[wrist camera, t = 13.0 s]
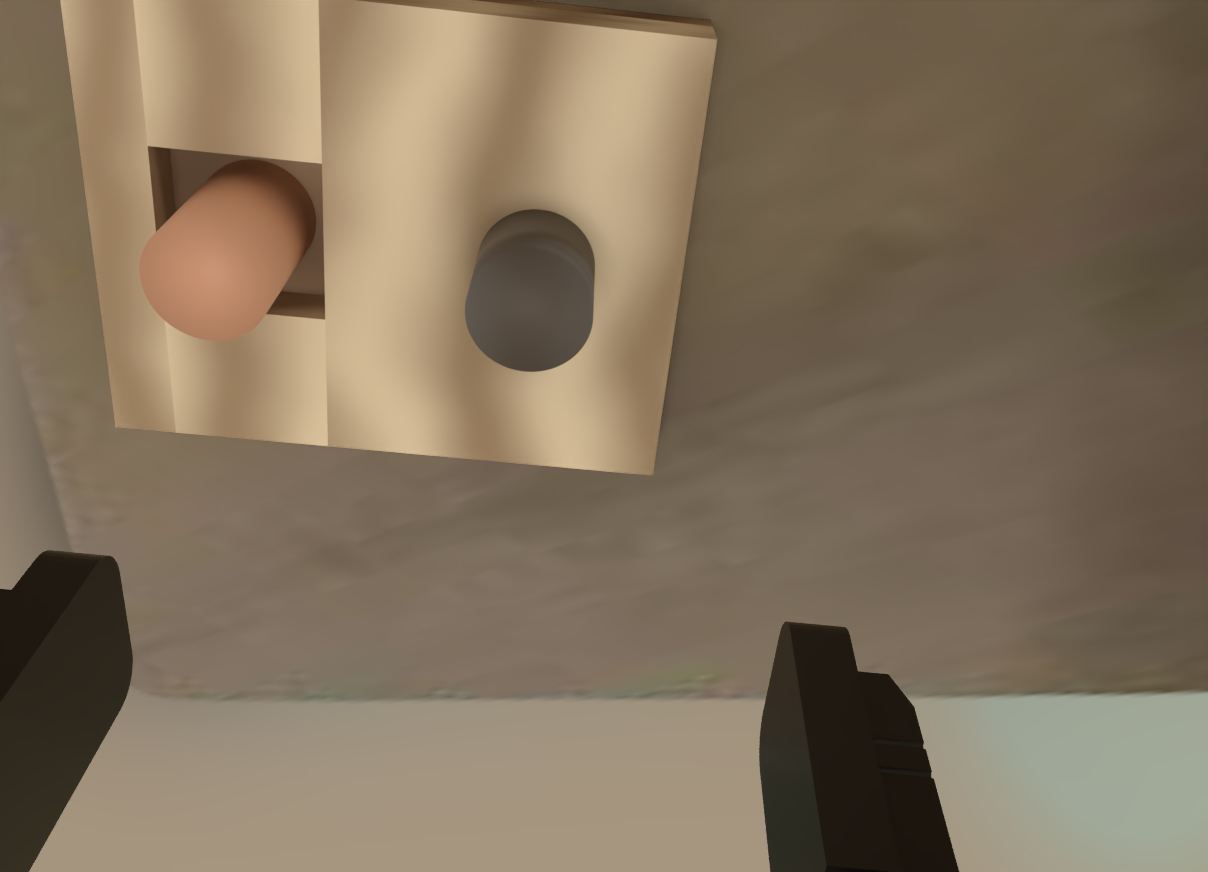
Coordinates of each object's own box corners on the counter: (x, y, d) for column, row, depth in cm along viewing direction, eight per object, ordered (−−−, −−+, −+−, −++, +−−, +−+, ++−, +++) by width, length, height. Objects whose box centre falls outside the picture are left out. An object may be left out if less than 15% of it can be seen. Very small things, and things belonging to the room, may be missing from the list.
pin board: (710, 20, 38) (728, 70, 32) (650, 435, 46) (656, 537, 40) (94, -48, 37) (-6, -9, 31) (143, 388, 45) (72, 486, 39)
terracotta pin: (313, 164, 40) (267, 225, 34) (318, 273, 42) (274, 346, 36) (196, 154, 40) (132, 213, 34) (206, 263, 42) (146, 334, 36)
